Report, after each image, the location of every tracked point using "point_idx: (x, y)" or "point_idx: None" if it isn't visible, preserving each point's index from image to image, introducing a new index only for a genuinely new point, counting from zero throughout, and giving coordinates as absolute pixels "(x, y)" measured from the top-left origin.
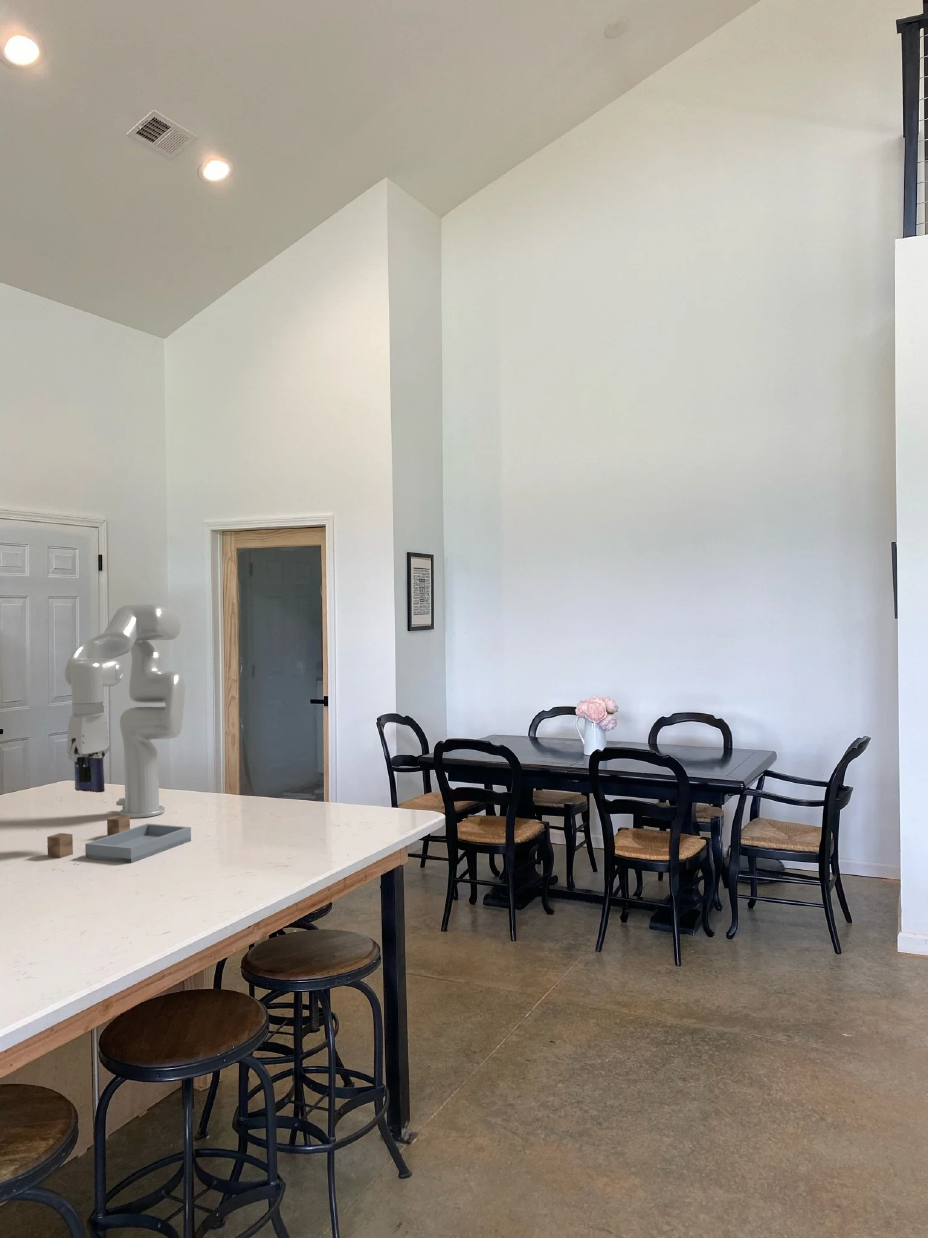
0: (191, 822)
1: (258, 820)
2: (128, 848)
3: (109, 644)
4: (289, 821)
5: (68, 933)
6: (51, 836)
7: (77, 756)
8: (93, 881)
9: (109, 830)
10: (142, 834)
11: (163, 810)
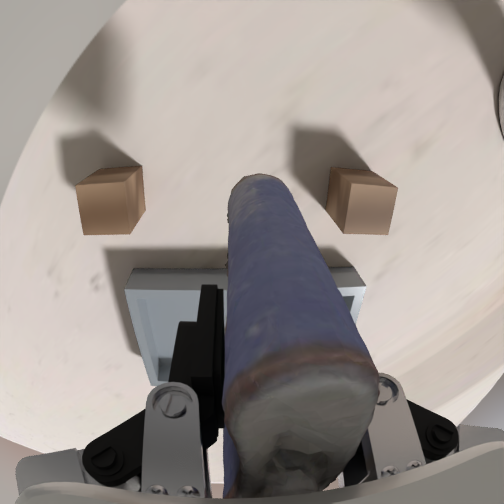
0: (467, 266)
1: (458, 352)
2: (150, 381)
3: None
4: (443, 384)
5: (2, 407)
6: (82, 195)
7: (146, 486)
8: (63, 365)
9: (336, 181)
10: None
11: None
